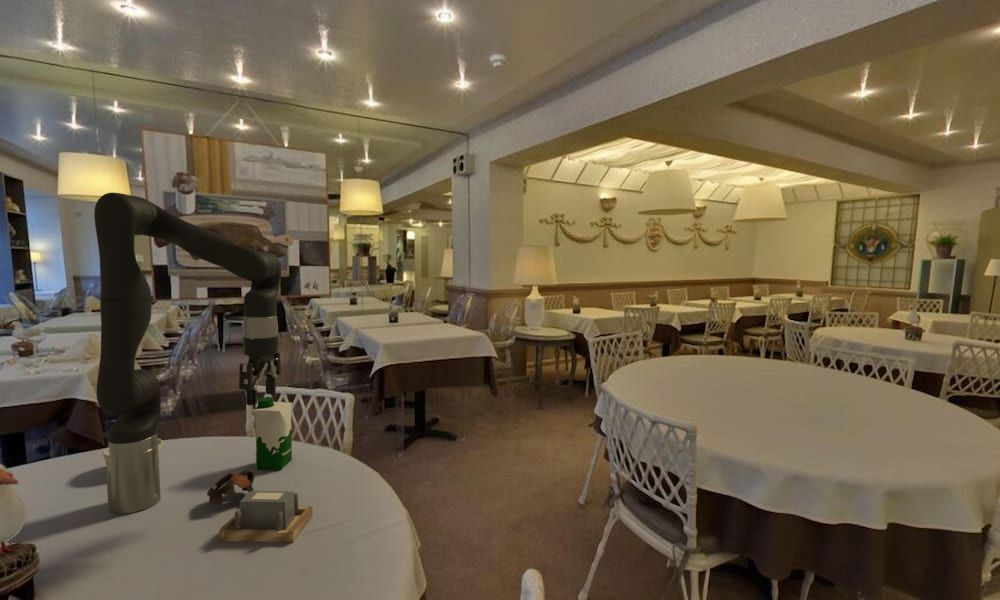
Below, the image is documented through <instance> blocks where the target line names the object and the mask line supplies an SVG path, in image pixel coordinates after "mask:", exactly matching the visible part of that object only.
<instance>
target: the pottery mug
mask: <svg viewBox="0 0 1000 600" xmlns="http://www.w3.org/2000/svg"><path fill="white" fill-rule="evenodd" d="M254 481H255V473H254V471H253V470H252V469H251V468H246V469H243V470H241V471H240V472H239V473H238V474H237V473H236V472H235V471H233V472H232V471H231V472H230V473H228V474H226V475H224V476H222V477H221V478H220V479H218V481H216V482H215V483H214V486H215V488H214V487H213V486H212V487H210V488H209V489H208V490H207V493H206V495H207V496H208V497H209V499H208V500H209V501H208V502H209V504H215V503H219V504H222V503H223V502H222V501H223V500H222V498H223V495H225V496H234V495H235V494H236V490H235V485H236V486H238V487H239V488H241V490H242V491H244V492H245V491H246V492H248V493H249V492H250V491H255V490H254V487H253V484H254V483H253V482H254Z"/></svg>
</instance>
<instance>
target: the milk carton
mask: <svg viewBox="0 0 1000 600" xmlns="http://www.w3.org/2000/svg"><path fill="white" fill-rule="evenodd" d="M292 404H293V403H292V402H284V401H274V398H273V397H271V396H266V397H260V398H257V406H256V407H255V408H254V409H253V410H252V414H253V419H254V422H255V425H254V426H255V448H256V449H255V452H256V453H255V454H256V455H255V456H256V457H255V463H256V464H255V470H256V471H282V470H283V469H284V468H285V467H286V466H287V465H288V464H289V463H290V462H291V461H292V460H293V456H292V455H293V454H292V453H293V449H292V447H293V445H292V444H293V443H292V408H293V406H292Z"/></svg>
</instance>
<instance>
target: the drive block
mask: <svg viewBox="0 0 1000 600" xmlns="http://www.w3.org/2000/svg"><path fill="white" fill-rule="evenodd" d="M294 493H295V491H286V490H285V491H283V490H282V491H281V490H280V491H279V490H277V491H276V490H275V491H274V490H272V491H270V490H254V491H250V492H248V493H247V494H246V495H244V496H243V498H241V500H239V511H241V523H242V529H254V530H277V525H276V513H277V512H279V511H282V519H283V530H286V529H287V528H288V526H289V525H290V524H291V522H292V521H293V520H294V519H295V508H294Z"/></svg>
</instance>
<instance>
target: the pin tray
mask: <svg viewBox="0 0 1000 600" xmlns="http://www.w3.org/2000/svg"><path fill="white" fill-rule="evenodd" d="M294 508H295V519H294V520H293V521H292V522H291V524H290V525H289V526H288V528H287V529H286V530H283V519H282V511H279V512H277V513H276V525H277V530H254V529H242V523H241V511H240V510H236V511H235V512H234V515H233V516H232V517H231V518H230V519H229V520H228V521H227V522H226V523H225V524H224V525H223V526H222V527H221V528H220V529H219V530H218V531H219V532H218V533H219V542H243V543H244V542H245V543H247V542H248V543H294V542H295V541H296V540H297V539H298V537H299V536H300V534H301V533H302V531H303V530H304V529H305V528H306V526H307V524H308V523H309V522H310V520H311V519H312V518H313V505H308V506H306V507H305V506H299V493H298V492H294Z"/></svg>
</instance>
